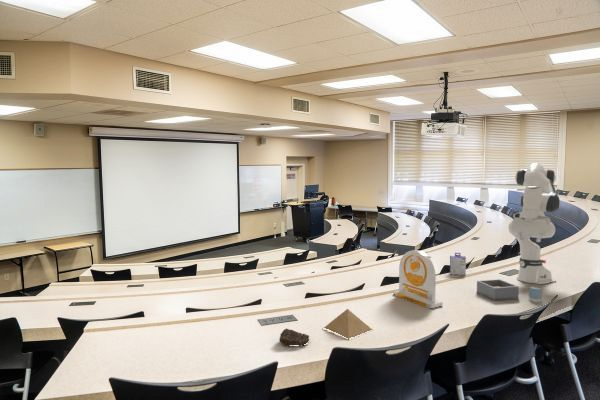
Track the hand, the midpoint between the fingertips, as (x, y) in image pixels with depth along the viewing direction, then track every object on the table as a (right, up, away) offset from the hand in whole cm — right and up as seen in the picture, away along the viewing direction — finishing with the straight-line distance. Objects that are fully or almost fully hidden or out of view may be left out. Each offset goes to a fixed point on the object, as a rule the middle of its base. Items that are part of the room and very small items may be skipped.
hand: (529, 241), depth 213 cm
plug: (+3, -33, +1) cm, 33 cm away
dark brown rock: (-126, -37, -50) cm, 141 cm away
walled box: (-13, -32, +10) cm, 36 cm away
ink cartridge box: (-16, -29, +58) cm, 67 cm away
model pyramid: (-103, -36, -36) cm, 115 cm away
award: (-60, -33, +3) cm, 69 cm away
